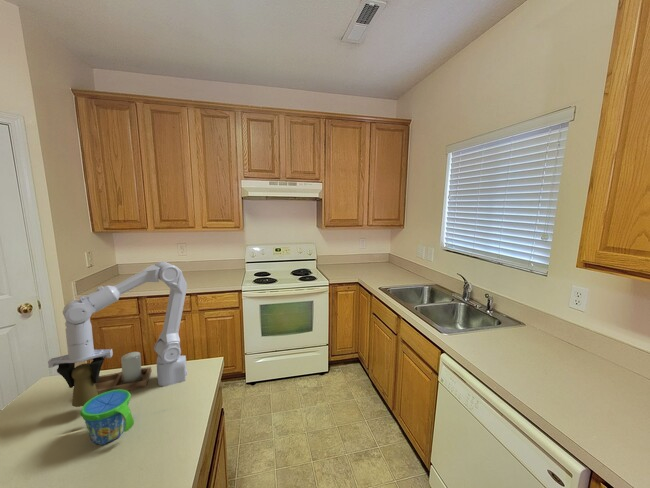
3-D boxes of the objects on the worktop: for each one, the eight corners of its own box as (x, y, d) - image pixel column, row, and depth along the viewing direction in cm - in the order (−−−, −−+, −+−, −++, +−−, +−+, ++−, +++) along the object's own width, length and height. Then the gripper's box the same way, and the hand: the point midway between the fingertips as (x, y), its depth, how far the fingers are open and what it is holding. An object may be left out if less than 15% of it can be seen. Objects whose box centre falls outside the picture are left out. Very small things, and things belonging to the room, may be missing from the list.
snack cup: (147, 429, 78) (144, 396, 77) (106, 460, 68) (103, 423, 67) (112, 414, 84) (109, 383, 82) (69, 440, 74) (66, 406, 73)
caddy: (151, 373, 105) (151, 366, 104) (146, 388, 96) (145, 381, 95) (89, 385, 97) (89, 377, 97) (77, 403, 88) (76, 395, 88)
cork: (95, 390, 87) (93, 358, 86) (100, 399, 83) (98, 365, 82) (70, 400, 82) (67, 366, 81) (73, 409, 78) (70, 374, 77)
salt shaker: (143, 375, 102) (141, 350, 101) (140, 384, 97) (138, 358, 96) (125, 379, 100) (123, 353, 98) (121, 388, 94) (118, 361, 93)
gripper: (114, 331, 87) (117, 371, 89) (55, 339, 81) (60, 381, 83) (106, 341, 81) (110, 383, 82) (42, 350, 75) (47, 396, 77)
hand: (84, 383), depth 82 cm, fingers closed on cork, 5 cm apart
